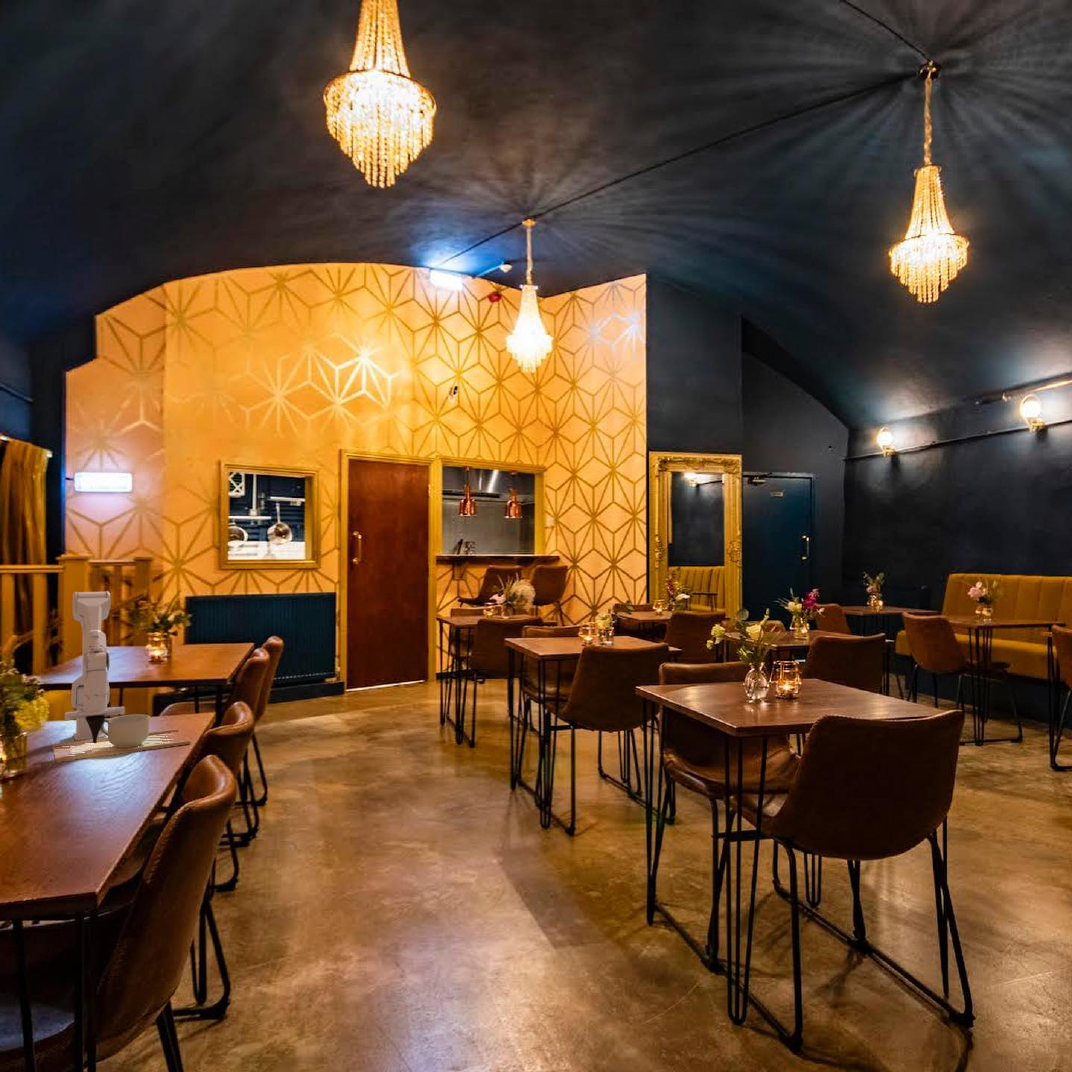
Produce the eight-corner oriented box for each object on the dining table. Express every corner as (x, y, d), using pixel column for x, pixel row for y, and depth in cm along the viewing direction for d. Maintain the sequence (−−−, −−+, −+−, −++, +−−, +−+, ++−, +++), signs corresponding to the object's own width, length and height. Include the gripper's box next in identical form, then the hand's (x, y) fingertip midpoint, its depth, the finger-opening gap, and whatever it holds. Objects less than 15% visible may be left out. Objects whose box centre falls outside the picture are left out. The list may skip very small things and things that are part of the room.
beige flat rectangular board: (52, 747, 215) (52, 744, 215) (177, 731, 234) (177, 728, 234) (56, 762, 200) (56, 758, 200) (190, 744, 219) (190, 740, 219)
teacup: (157, 742, 219) (158, 715, 220) (128, 750, 209) (129, 721, 210) (118, 740, 223) (119, 713, 224) (88, 748, 213) (89, 719, 213)
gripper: (66, 699, 206) (65, 749, 205) (126, 693, 214) (125, 741, 214) (64, 695, 212) (64, 744, 211) (123, 690, 220) (122, 736, 219)
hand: (94, 742), depth 213 cm, fingers closed
